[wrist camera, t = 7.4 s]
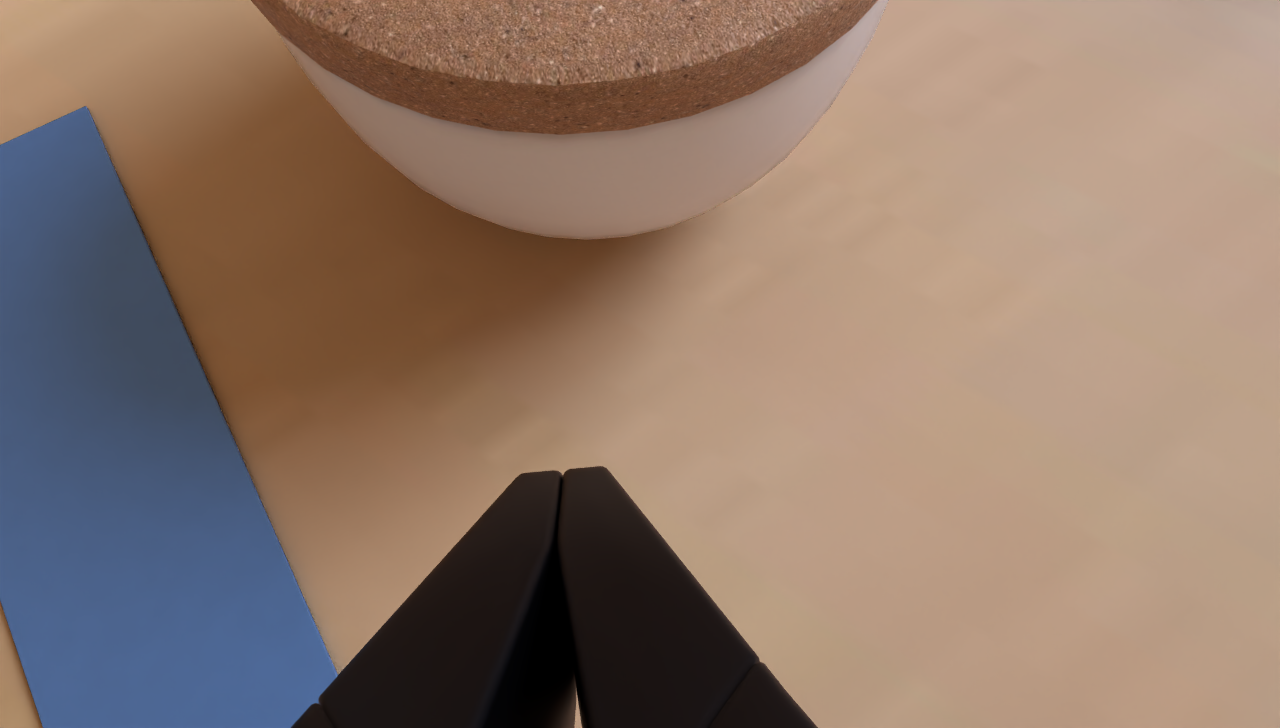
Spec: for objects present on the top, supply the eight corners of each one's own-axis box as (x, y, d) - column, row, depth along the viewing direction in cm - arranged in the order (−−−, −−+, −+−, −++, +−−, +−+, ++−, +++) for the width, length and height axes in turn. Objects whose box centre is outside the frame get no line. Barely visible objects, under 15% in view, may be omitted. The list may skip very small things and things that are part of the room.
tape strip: (89, 852, 15) (84, 855, 15) (-130, 207, 19) (-133, 205, 19) (349, 701, 16) (348, 701, 15) (88, 108, 19) (85, 105, 19)
